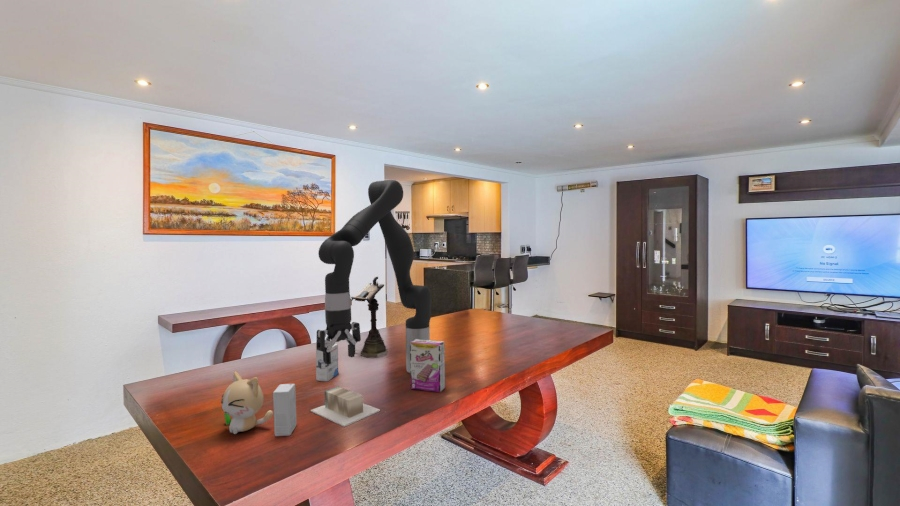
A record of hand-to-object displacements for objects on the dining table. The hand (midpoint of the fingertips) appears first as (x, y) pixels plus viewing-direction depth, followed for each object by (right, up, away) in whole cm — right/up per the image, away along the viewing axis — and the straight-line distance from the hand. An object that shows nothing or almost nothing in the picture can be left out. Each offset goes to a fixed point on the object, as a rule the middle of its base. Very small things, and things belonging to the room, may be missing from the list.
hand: (339, 360), depth 125 cm
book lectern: (-1, -13, +57) cm, 59 cm away
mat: (+2, -15, -1) cm, 15 cm away
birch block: (-3, -12, +3) cm, 13 cm away
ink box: (-12, -14, +30) cm, 35 cm away
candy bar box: (+26, -14, +17) cm, 34 cm away
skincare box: (-11, -16, -13) cm, 23 cm away
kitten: (-24, -16, -11) cm, 31 cm away
